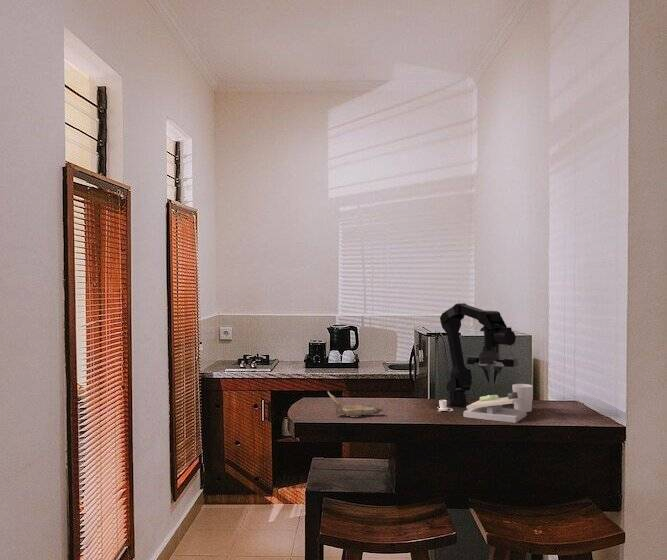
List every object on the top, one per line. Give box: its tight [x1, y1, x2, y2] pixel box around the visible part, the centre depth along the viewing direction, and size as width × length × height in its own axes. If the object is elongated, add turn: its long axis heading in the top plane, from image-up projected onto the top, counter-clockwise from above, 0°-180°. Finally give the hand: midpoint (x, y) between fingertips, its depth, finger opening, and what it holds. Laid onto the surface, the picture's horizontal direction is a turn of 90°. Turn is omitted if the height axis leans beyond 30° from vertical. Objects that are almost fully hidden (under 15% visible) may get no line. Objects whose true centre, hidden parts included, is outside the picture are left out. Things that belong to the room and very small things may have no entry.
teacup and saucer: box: [438, 399, 454, 412], centre depth 250 cm, size 9×8×4 cm
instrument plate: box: [465, 391, 523, 410], centre depth 237 cm, size 18×13×3 cm
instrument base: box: [462, 404, 528, 424], centre depth 237 cm, size 20×14×4 cm
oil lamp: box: [327, 391, 383, 417], centre depth 241 cm, size 9×21×10 cm, turn 91°
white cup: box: [511, 383, 534, 413], centre depth 247 cm, size 8×8×10 cm
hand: (492, 383), depth 240 cm, fingers closed
